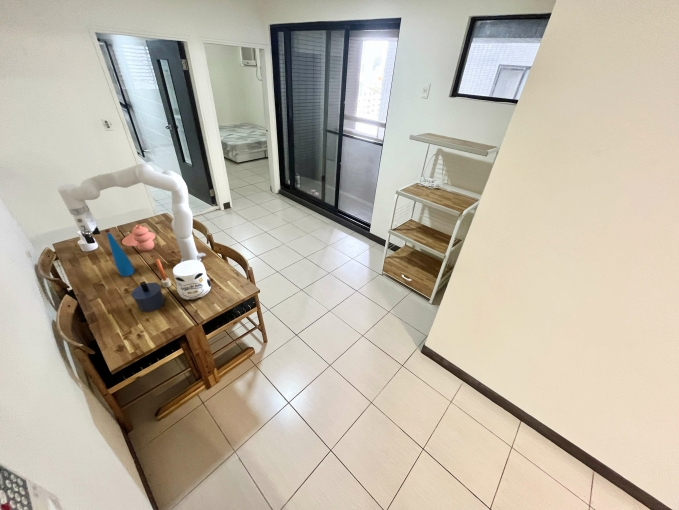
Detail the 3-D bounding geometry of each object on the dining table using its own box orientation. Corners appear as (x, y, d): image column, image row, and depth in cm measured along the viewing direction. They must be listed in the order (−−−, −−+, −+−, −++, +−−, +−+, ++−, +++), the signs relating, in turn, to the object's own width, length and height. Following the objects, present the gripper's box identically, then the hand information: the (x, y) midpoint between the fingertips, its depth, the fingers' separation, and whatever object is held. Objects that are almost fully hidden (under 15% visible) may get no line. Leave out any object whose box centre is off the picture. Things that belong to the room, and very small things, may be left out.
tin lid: (148, 281, 152) (144, 272, 148) (166, 287, 149) (163, 278, 145) (126, 296, 141) (121, 287, 138) (145, 303, 138) (141, 294, 135)
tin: (153, 294, 156) (147, 281, 151) (169, 299, 153) (164, 287, 148) (133, 308, 147) (127, 295, 141) (151, 314, 144) (145, 301, 139)
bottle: (126, 277, 166) (105, 234, 149) (117, 274, 168) (96, 231, 151) (137, 271, 172) (118, 228, 155) (128, 268, 174) (109, 225, 157)
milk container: (191, 307, 149) (183, 281, 139) (173, 294, 157) (163, 269, 147) (218, 289, 162) (212, 265, 152) (200, 279, 169) (192, 255, 159)
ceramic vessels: (118, 237, 202) (107, 214, 192) (150, 228, 215) (142, 206, 205) (132, 257, 183) (121, 233, 172) (166, 246, 196) (158, 223, 185)
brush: (171, 282, 165) (161, 256, 155) (171, 286, 162) (161, 260, 151) (163, 283, 164) (152, 258, 153) (162, 288, 160) (152, 262, 150)
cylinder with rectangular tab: (100, 247, 191) (92, 232, 184) (85, 252, 185) (76, 237, 178) (94, 243, 195) (86, 228, 188) (79, 248, 188) (70, 233, 182)
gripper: (82, 215, 132) (98, 245, 142) (93, 202, 145) (107, 230, 155) (63, 217, 130) (80, 248, 139) (75, 203, 143) (90, 232, 152)
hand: (94, 238), depth 147 cm, fingers open, 9 cm apart
